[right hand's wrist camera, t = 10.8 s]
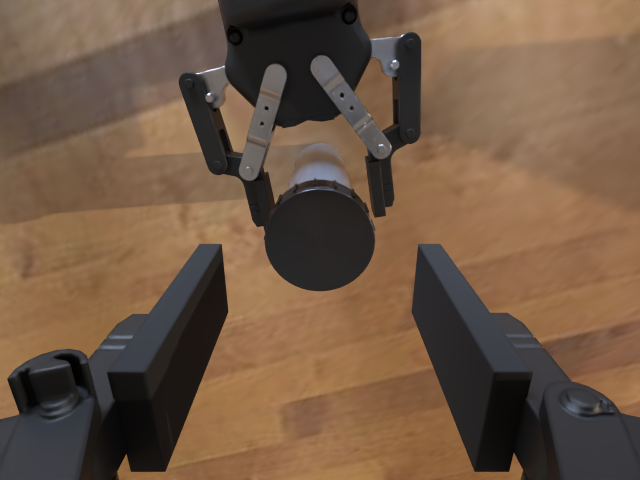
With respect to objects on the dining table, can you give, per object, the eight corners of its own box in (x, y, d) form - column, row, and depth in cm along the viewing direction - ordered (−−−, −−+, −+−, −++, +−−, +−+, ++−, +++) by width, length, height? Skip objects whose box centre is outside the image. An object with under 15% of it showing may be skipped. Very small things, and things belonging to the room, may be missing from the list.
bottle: (342, 195, 33) (358, 283, 19) (292, 191, 33) (272, 275, 19) (348, 145, 31) (371, 199, 17) (296, 140, 31) (277, 190, 17)
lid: (364, 279, 20) (368, 297, 19) (265, 270, 20) (260, 288, 18) (379, 183, 18) (384, 193, 17) (270, 173, 18) (265, 182, 17)
